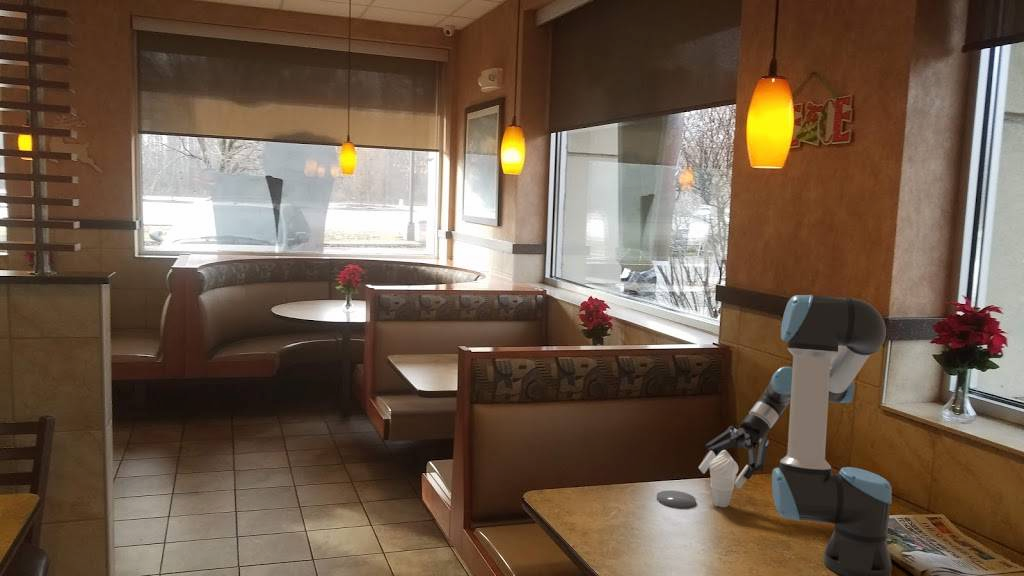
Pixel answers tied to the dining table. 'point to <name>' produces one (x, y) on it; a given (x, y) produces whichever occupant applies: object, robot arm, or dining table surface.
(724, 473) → the soft serve ice cream cone
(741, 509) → the dining table surface
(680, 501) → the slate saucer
